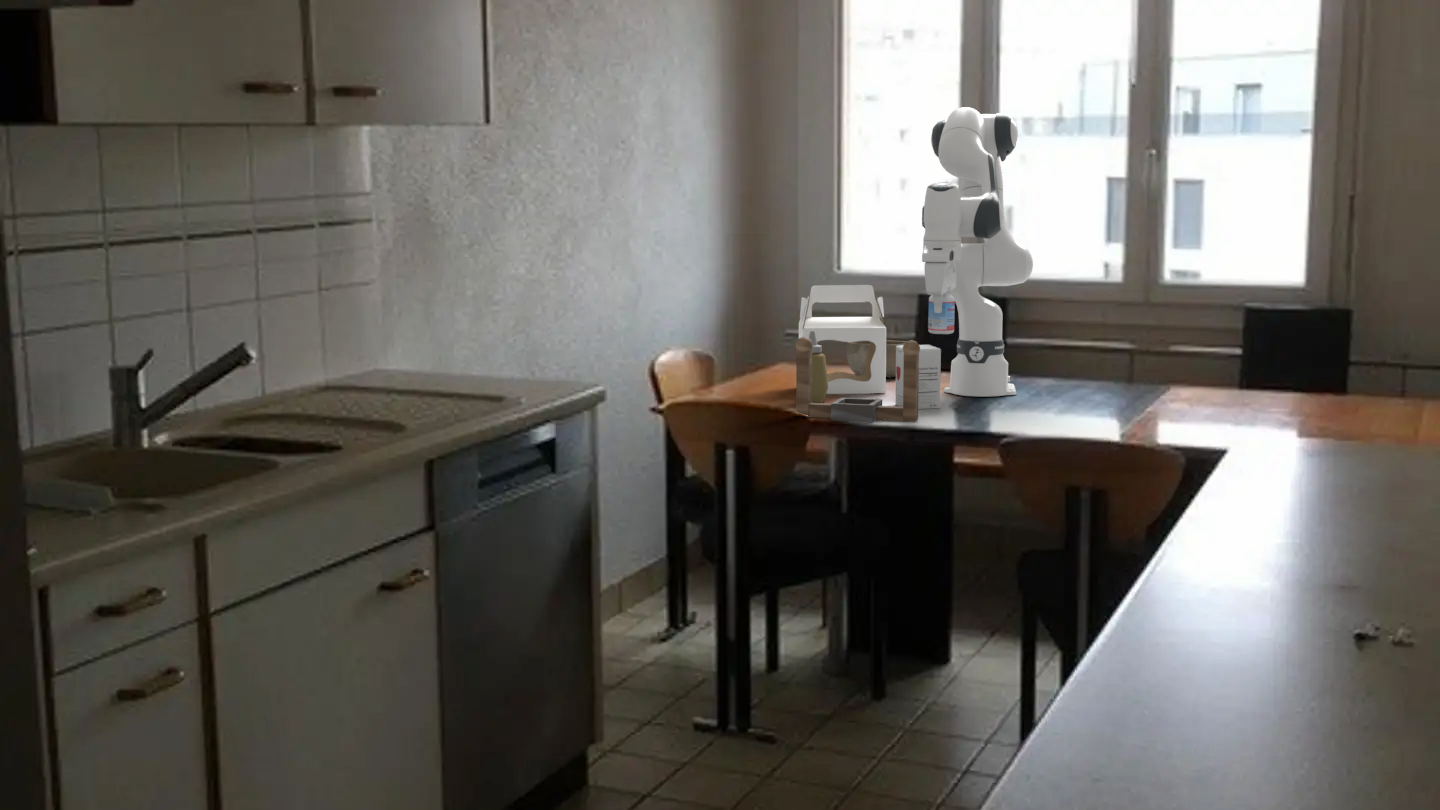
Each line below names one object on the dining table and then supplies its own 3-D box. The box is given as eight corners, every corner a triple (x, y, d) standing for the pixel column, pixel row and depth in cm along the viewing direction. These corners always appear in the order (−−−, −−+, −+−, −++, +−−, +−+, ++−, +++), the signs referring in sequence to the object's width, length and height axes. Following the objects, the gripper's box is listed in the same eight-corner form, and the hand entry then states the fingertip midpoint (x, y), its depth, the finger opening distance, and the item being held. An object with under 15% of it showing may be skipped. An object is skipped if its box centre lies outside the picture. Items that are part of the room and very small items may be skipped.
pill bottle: (953, 334, 398) (954, 287, 396) (927, 334, 399) (928, 286, 397) (954, 331, 404) (955, 284, 402) (928, 330, 405) (929, 283, 403)
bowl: (877, 371, 489) (877, 336, 487) (922, 377, 475) (922, 341, 473) (833, 376, 478) (833, 341, 476) (878, 382, 464) (878, 346, 463)
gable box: (880, 386, 457) (881, 282, 453) (886, 393, 444) (887, 286, 440) (797, 387, 456) (797, 283, 452) (801, 394, 443) (802, 287, 439)
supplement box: (894, 404, 425) (894, 345, 423) (928, 403, 427) (928, 344, 425) (906, 410, 416) (906, 349, 414) (940, 408, 418) (941, 348, 416)
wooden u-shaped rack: (801, 412, 413) (801, 334, 411) (923, 417, 404) (924, 338, 401) (790, 418, 404) (790, 339, 401) (914, 424, 395) (915, 342, 392)
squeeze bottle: (831, 400, 433) (832, 330, 430) (823, 404, 425) (823, 333, 422) (801, 399, 435) (801, 329, 432) (792, 403, 428) (792, 332, 425)
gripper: (936, 249, 409) (936, 307, 411) (920, 254, 390) (919, 315, 392) (963, 250, 407) (962, 307, 409) (947, 255, 388) (947, 315, 390)
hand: (941, 311), depth 400 cm, fingers closed on pill bottle, 6 cm apart
